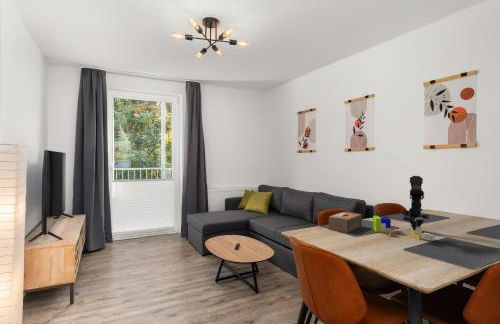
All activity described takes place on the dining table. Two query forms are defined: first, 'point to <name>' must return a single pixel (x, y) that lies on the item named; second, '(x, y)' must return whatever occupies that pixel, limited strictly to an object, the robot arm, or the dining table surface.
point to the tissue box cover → (345, 221)
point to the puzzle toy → (381, 223)
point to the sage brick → (418, 229)
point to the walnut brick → (389, 232)
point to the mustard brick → (415, 235)
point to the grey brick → (428, 236)
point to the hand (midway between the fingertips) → (415, 230)
